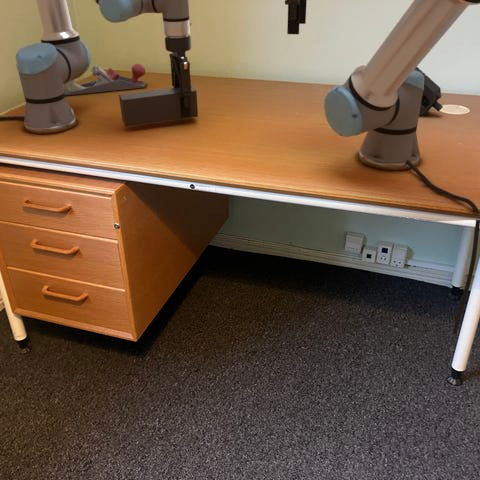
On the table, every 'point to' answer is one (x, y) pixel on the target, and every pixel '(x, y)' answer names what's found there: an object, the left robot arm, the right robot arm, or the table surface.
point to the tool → (429, 95)
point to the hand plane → (106, 81)
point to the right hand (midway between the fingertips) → (296, 28)
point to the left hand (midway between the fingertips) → (183, 113)
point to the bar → (154, 106)
